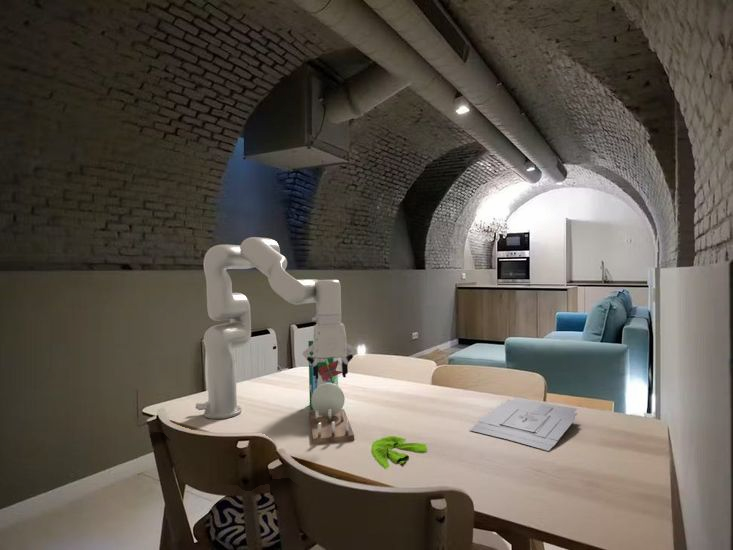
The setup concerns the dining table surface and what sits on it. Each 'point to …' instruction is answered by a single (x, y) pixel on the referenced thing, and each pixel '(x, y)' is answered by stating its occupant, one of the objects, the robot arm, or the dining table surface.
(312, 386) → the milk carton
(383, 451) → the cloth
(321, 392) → the sage plate
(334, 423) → the rack tines
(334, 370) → the geometric puzzle
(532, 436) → the papers
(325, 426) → the dish rack
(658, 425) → the dining table surface
